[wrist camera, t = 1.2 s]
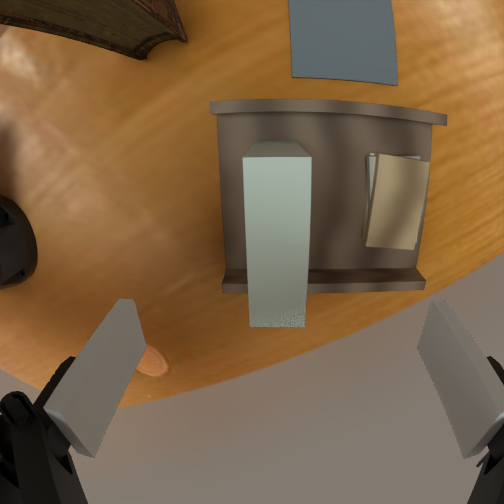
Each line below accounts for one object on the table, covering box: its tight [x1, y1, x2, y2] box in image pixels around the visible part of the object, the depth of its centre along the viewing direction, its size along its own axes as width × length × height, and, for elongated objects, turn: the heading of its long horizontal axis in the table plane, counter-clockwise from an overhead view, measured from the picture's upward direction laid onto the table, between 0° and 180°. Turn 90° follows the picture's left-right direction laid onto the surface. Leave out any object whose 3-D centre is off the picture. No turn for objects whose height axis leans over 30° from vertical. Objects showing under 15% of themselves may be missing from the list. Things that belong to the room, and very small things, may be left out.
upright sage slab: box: [243, 140, 312, 327], centre depth 27 cm, size 4×12×15 cm, turn 2°
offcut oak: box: [364, 153, 430, 250], centre depth 30 cm, size 6×10×1 cm, turn 178°
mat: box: [288, 0, 398, 86], centre depth 25 cm, size 12×18×1 cm, turn 2°
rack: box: [210, 99, 447, 293], centre depth 32 cm, size 24×20×5 cm
